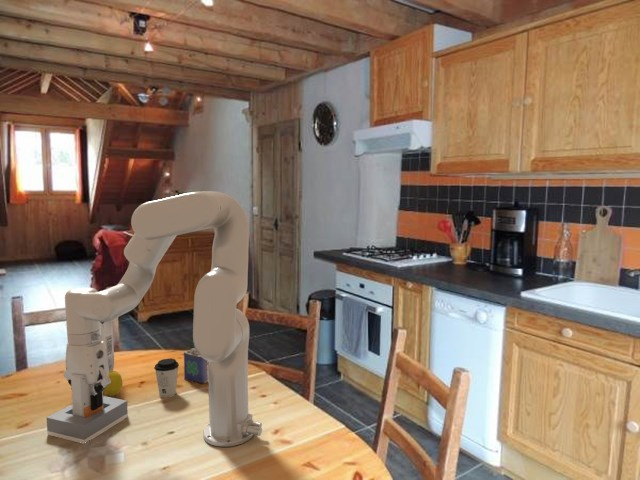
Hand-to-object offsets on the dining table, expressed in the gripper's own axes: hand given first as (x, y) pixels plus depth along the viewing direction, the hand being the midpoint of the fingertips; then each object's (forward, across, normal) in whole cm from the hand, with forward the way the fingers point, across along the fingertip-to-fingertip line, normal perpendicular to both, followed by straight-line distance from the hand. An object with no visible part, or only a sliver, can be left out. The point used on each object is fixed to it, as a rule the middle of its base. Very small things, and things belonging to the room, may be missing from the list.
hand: (88, 405), depth 117 cm
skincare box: (+3, 0, 0) cm, 3 cm away
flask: (+6, -9, -33) cm, 35 cm away
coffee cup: (+6, -7, -22) cm, 24 cm away
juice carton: (+5, +25, -26) cm, 37 cm away
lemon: (+6, +7, -15) cm, 18 cm away
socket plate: (+5, 0, 0) cm, 5 cm away
